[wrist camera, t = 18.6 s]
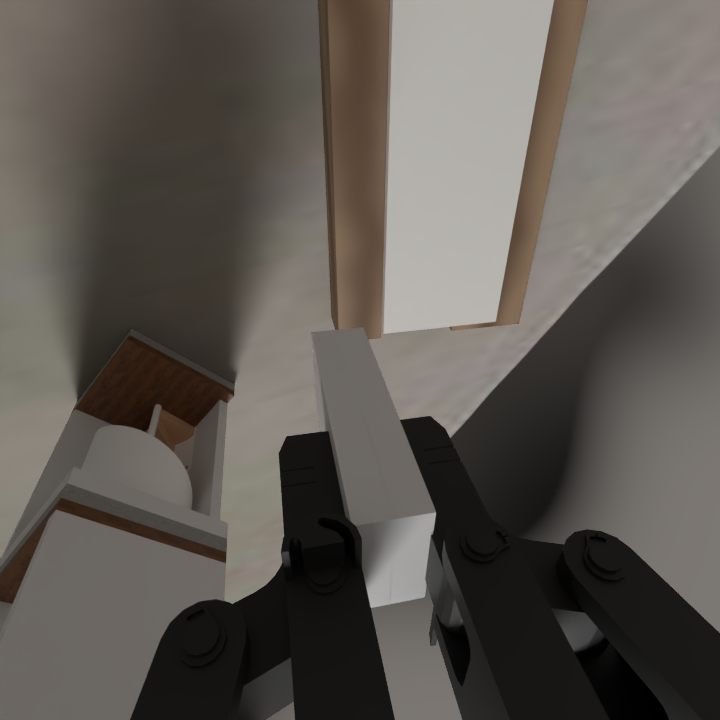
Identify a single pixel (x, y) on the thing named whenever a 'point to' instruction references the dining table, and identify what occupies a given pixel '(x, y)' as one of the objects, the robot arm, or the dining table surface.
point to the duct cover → (455, 153)
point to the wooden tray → (368, 155)
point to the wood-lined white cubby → (115, 537)
